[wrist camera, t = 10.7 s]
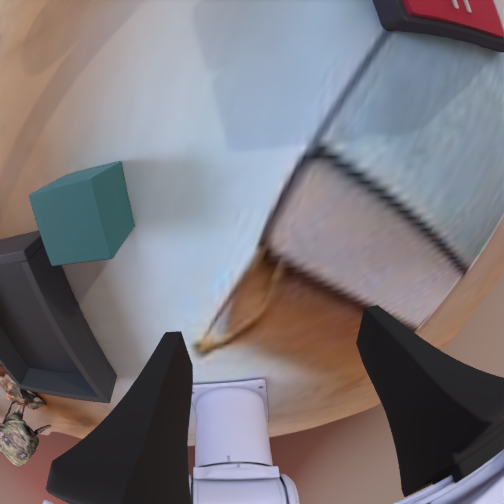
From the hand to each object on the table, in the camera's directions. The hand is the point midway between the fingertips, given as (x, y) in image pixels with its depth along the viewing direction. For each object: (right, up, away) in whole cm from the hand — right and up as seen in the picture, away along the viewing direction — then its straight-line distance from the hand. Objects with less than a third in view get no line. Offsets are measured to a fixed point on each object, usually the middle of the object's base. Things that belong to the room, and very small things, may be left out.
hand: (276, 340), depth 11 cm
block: (-11, +7, +6) cm, 14 cm away
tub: (-22, -3, +10) cm, 25 cm away
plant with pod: (-35, -18, +17) cm, 43 cm away
